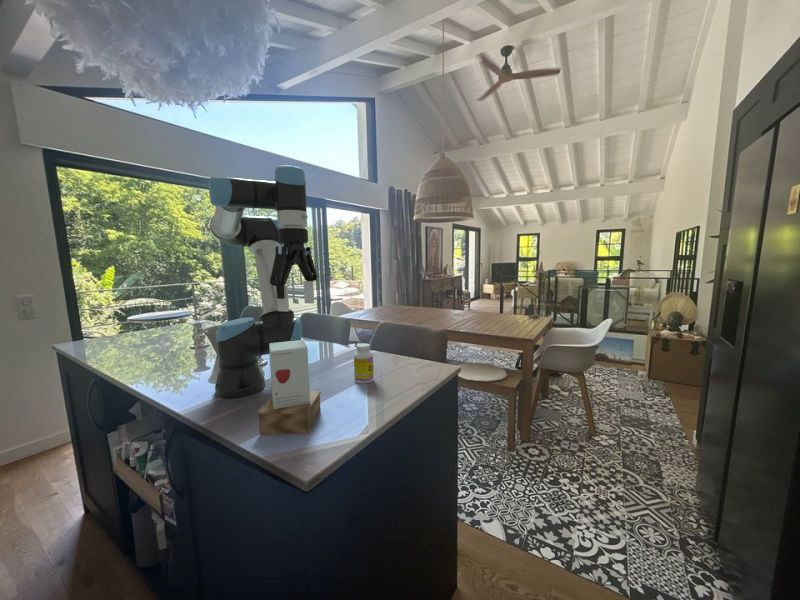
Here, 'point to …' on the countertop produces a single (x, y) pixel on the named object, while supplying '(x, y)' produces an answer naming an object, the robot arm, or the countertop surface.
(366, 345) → the supplement bottle
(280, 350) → the supplement box
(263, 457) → the countertop surface
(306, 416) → the walnut box
